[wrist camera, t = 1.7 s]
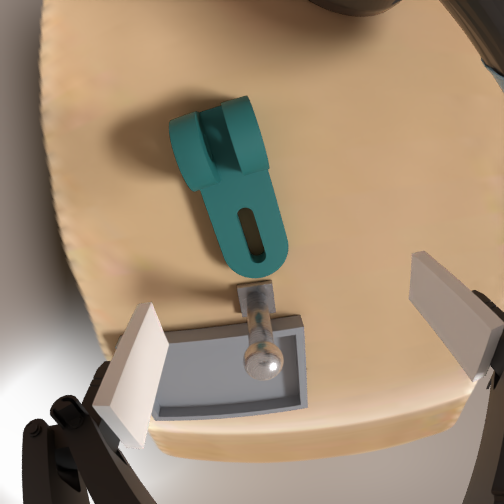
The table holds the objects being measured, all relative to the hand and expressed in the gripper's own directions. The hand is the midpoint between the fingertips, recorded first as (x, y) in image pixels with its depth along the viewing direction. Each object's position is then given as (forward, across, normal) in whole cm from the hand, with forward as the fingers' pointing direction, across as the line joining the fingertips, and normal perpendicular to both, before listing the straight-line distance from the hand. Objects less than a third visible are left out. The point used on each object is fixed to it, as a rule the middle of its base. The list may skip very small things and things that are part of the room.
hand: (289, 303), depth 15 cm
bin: (+19, -10, -22) cm, 31 cm away
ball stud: (+19, -2, -11) cm, 22 cm away
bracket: (+19, -2, +2) cm, 20 cm away
